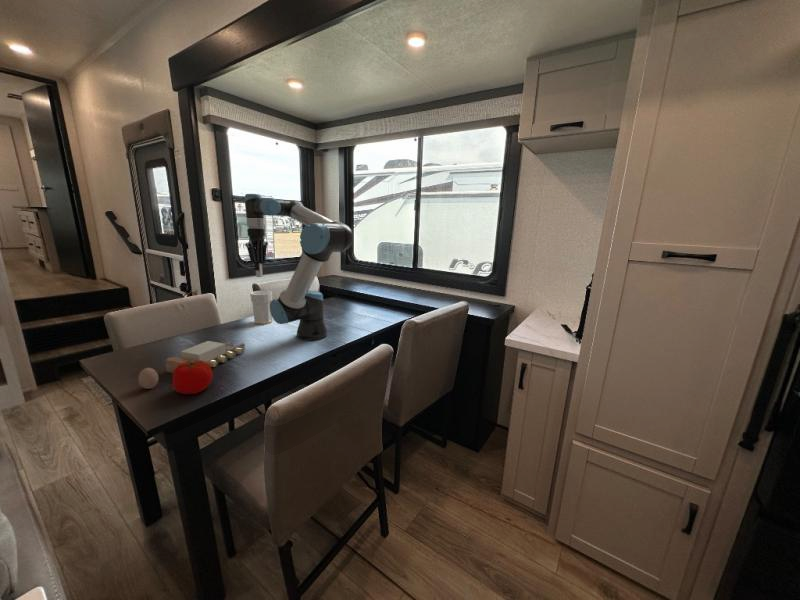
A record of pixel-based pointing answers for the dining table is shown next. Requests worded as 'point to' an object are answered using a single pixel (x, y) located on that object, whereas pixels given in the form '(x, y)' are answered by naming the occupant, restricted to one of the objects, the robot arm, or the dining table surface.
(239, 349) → the rack with metal cylinders
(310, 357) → the dining table surface
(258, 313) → the cup
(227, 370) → the dining table surface
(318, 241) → the robot arm
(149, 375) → the egg
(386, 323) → the dining table surface
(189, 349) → the paver
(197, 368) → the tomato
